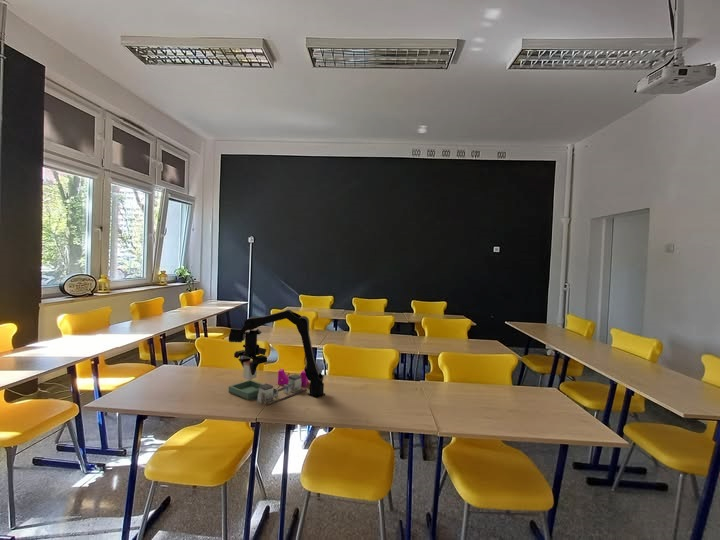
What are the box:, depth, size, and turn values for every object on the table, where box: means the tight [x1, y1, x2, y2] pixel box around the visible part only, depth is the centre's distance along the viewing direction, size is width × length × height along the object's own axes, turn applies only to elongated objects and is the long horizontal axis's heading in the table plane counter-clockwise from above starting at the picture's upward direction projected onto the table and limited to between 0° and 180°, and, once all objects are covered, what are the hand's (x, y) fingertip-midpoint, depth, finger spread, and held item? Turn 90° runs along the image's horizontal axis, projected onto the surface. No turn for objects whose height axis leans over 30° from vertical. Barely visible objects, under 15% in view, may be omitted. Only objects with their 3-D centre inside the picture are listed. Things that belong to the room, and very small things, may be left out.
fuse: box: [242, 359, 258, 381], centre depth 179 cm, size 5×5×8 cm
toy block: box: [277, 368, 309, 387], centre depth 195 cm, size 15×6×8 cm, turn 87°
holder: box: [251, 373, 308, 407], centre depth 178 cm, size 11×26×7 cm, turn 145°
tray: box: [228, 379, 264, 401], centre depth 179 cm, size 15×13×3 cm
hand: (249, 373), depth 179 cm, fingers closed on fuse, 4 cm apart
